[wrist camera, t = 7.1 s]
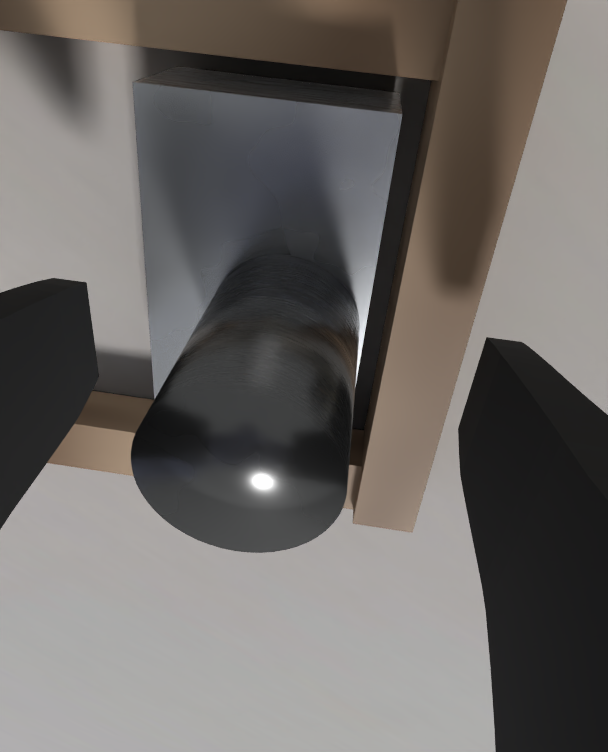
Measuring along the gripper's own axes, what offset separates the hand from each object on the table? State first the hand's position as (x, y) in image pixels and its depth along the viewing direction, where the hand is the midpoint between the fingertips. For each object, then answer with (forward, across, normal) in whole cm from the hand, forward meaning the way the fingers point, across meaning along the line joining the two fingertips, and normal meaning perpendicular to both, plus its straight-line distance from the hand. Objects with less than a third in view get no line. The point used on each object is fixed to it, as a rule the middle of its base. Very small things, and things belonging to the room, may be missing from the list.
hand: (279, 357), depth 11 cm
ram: (+4, +1, 0) cm, 4 cm away
